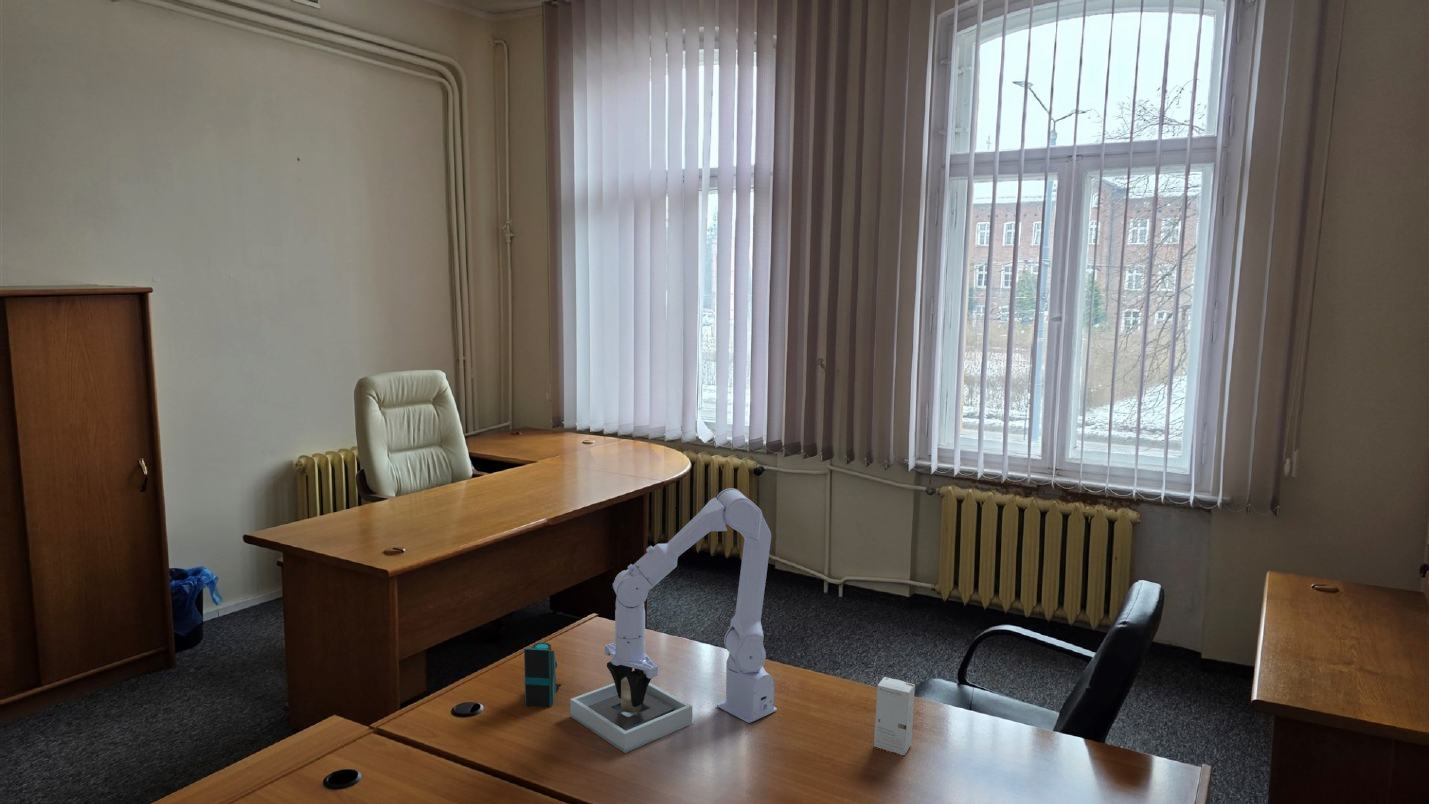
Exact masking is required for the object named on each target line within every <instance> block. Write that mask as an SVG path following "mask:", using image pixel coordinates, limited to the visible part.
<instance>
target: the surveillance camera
mask: <svg viewBox="0 0 1429 804" xmlns="http://www.w3.org/2000/svg"><path fill="white" fill-rule="evenodd" d="M523 661H524V662H523V664H524V665H523V666H524V667H523V668H524V669H523V671H524V705H525V706H526V707H531V708H547V709H548V708H552V706H553V705H554V702H555V700H556V699H555V697H556V696H555V694H557V693H558V691H559V690H560V688H561V687H562V684H561V683H556V682H557V678H556V677H557V675H556V674H557V672H556V671H557V667H558V663H557V661H556V653H555V651H554V650H552V644H551V643H549V642H545V641H544V642H538V643H534V644H532V645H531V647H525V648H523ZM560 686H561V687H560ZM559 687H560V688H559Z"/></svg>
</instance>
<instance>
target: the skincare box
mask: <svg viewBox="0 0 1429 804" xmlns="http://www.w3.org/2000/svg"><path fill="white" fill-rule="evenodd" d="M876 686H877V687H876V703H875V705H876V706H875V721H874V738H873V739H874V740H873V741H874V742H873V747H874V746H875V747H878V748H883V749H886V750H889V751H894V752H897V753H900V754H905V753H906V752H907V750H908V749H909V747H910V746H911V747H912V741H913V740H912V739H913V724H914V723H913V722H914V705H915V692H916V691H915V690H916V684H914V683H910V682H907V681H903V680H900V679H895V678H890V677H887V676H883V677H882V679H881V680H880V681H879V682H878V684H877V685H876ZM875 747H874V748H875ZM911 747H910V748H911ZM878 748H877V749H878ZM909 750H910V749H909ZM909 750H908V751H909ZM907 753H908V752H907ZM907 753H906V754H907ZM906 754H905V755H906Z"/></svg>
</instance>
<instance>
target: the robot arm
mask: <svg viewBox="0 0 1429 804" xmlns="http://www.w3.org/2000/svg"><path fill="white" fill-rule="evenodd" d="M704 505H705V506H704V507H703V508H702V509H701V510H700V511H699V512H698V513H697V514H696V515H695V516H693V517H692V519H691V520H689V522H687V524H685V525H684V527H682V528H681V529H680V531H678V532H677V533H676V534H675V535H674V536H673V537H672V538H670V540H669V541H668V542H665V543H657V544H655V545H654V546H652V545H650V546H648V547H647V548H646V549H645V550H646V553H645V554H644V555H642V556H641V557H640V558H639V559H638V560H637V561H635V563H634V564H632V563H630V564H629V565H628V566H627V569H626V570H625V569H624V570H622V571H620V572H619V573H618V574H617V575H616V576H615V578H614V581H613V583H612V589H613V590H614V593H615V595H616V596H615V597H616V598H615V610H614V612H615V613H614V614H615V615H614V617H615V619H614V621H615V623H614V624H615V627H614V629H615V630H614V631H615V632H614V633H615V634H614V635H615V636H614V637H615V642H611V643H608V644H605V645H604V655H605V656H607V657H609V656H611V660H610V661H609V662H606V668H607V669H608V671H609V672H610V674H611V677H612V679H613V682H614V683H615V686H616V690H617V694H618V697H619V698H620V699H621V680H622V679H623V678H624V677H626V678H627V680H628V682H629V686H630V691H631V702H632V706H634V707H637V706H639V705H642V704H643V701H644V697H645V693H646V690H647V687H648V685H649V683H651V680H652V679H653V678H655V677H657V676H658V674H659V671H658V670H659V668H658V667H659V666H658V665H656V663H654V662H653V661H652V660H651V658H650V657H649V655H648V654H647V653H646V610H645V602H646V600H647V598H648V597H649V596H648V595H649V591H650V590H652V589H653V588H654V587H656V585H658V584H659V583H660V582H661V581H662V580H663V579H664V578H665V577H666V576H668V575H669V574H670V573H671V572H672V571H673V570H675V568H677V566H678V559H679V557H680V556H681V555H683V553H685V552H686V551H687V550H689V549H690V548H691V547H692V546H693V545H695V544H696V543H698V542H699V541H700V540H701V539H702V538H704V537H705V536H706V535H707V534H709V533H710V532H727V531H728V528H727V525H728V526H729V527H730V528H732V530H734V531H736V532H738V533H740V535H741V536H742V537H743V539H744V542H743V549H742V557H741V564H740V565H741V566H740V574H739V582H738V590H737V597H736V606H735V607H736V608H735V613H734V615H733V616H732V618H731V619H730V624H729V628H728V630H727V631H726V633H725V635H724V637H723V644H724V647H725V649H726V651H727V652H729V653H728V657H727V659H726V663H725V664H726V668H725V669H726V672H725V673H726V674H725V677H726V680H725V682H726V684H725V686H726V688H725V690H726V691H725V694H726V695H725V696H726V697H725V698H726V699H725V700H722V701H719V702H717V704H716V707H717V708H720V709H721V710H723V711H725V712H727V713H729V714H731V715H732V716H734V717H736V718H738V719H740V720H742V721H744V722H746V723H748V724H751V723H753V722H756V721H757V720H759V719H761V718H764V717H766V716H768V715H770V714H772V713H774V712H776V711H778V710H777V707H776V706H775V680H774V678H773V676H772V675H770V674H769V673H768V672H767V671H766V670H765V668H764V667H763V666H764V664H765V661H766V657H767V652H766V648H765V647H764V631H763V626H762V623H761V622H762V620H761V619H762V613H763V606H764V597H765V588H766V583H767V581H766V580H767V576H768V575H767V573H768V567H769V565H768V564H769V557H770V550H771V541H772V533H771V530H770V528H769V525H768V524H767V522H766V519H765V518H764V515H763V512H762V509H761V508H759V506H757V505H756V504H755V503H754V502H753V501H752V500H751V499H749V498H748V497H747V496H746V495H745V494H743V493H742V492H741V491H740V490H739V489H737V488H733V487H732V488H725V489H723V490H721V491H720V492H719V493H718V494H717V495H716V497H712V498H711V499H710V500H709V501H707V503H706V504H704Z"/></svg>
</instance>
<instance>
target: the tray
mask: <svg viewBox="0 0 1429 804" xmlns="http://www.w3.org/2000/svg"><path fill="white" fill-rule="evenodd" d="M646 693H648V694H649V695H651V696H653V697H655V698H656V699H658V700H660V701H662V702H663V703H665V704H667V705H669V706H671V707H672V708H674V711H673V712H670V713H668V714H665V715H663V716H661V717H658V718H656V719H653V720H651V721H649V722H646V723H644V724H641V725H639V726H637V727H634V728H632V729H629V730H627V731H625V730H623V729H622V728H620V727H619V726H617V725H616V724H614V723H612V722H611V721H609V720H608V719H606V718H605V717H603V716H601V715H600V714H598V713H597V712H595V711H594V710H592V709H590V708H589V707H587V706H589V705H592V704H595V703H597V702H600V701H603V700H605V699H608V698H611V697H613V696H616V695H618V694H617V690H616V686H615V683H610V684H608V685H605V686H602V687H600V688H597V689H595V690H592V691H589V692H586V693H583V694H580V695H577V696H575V697H571V698H570V700H569V703H570V705H569V706H570V710H569V711H570V718H572V719H573V720H575V721H577V723H579V722H580V723H579V724H581V725H582V726H584V727H585V728H587V729H588V730H590V731H591V732H592V733H594V734H596V735H597V736H599V737H600V738H602V739H603V740H605V741H607V743H609V744H610V745H612V746H614V747H615V748H616V749H618V750H620V751H621V752H623V753H624V754H627V753H628V752H631V751H633V750H635V749H637V748H640V747H642V746H644V745H646V744H649V743H651V742H654V741H656V740H659V739H661V738H663V737H665V736H667V735H670V734H672V733H674V732H676V731H679V730H682V729H683V728H685V727H688V726H690V725H693V705H691V704H689V703H688V702H686V701H684V700H682V699H680V698H679V697H676V695H673V694H672V693H669V692H667V691H666V690H664V689H663V688H661V687H659V686H657V685H654V684H653V683H651V682H649V685H648V687H647V690H646ZM640 712H641V711H637V712H633V713H629V712H621V714H623V715H625V716H626V717H630V716H632V715H635V714H637V713H640Z"/></svg>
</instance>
